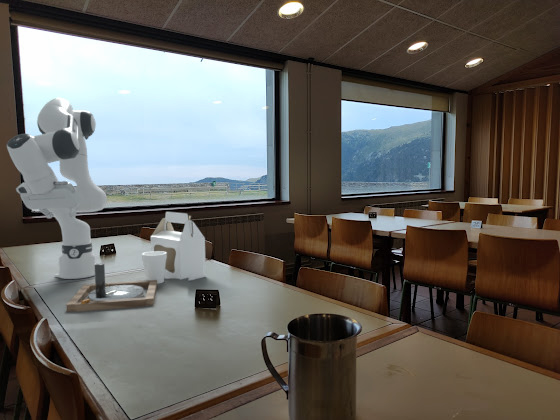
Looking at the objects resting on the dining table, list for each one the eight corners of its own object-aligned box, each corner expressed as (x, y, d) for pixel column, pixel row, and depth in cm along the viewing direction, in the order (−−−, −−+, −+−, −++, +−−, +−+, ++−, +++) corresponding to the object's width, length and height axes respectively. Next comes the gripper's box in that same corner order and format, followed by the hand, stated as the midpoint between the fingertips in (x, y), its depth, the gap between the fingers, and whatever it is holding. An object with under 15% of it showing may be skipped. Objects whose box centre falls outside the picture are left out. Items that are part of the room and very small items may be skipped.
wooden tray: (84, 293, 154) (84, 282, 153) (157, 288, 160) (156, 277, 159) (66, 316, 128) (65, 302, 128) (153, 309, 135) (153, 296, 134)
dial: (116, 288, 156) (114, 254, 155) (154, 293, 149) (153, 257, 148) (76, 301, 139) (74, 263, 138) (117, 307, 132) (115, 267, 131)
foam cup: (160, 288, 160) (159, 255, 159) (138, 287, 162) (137, 255, 161) (171, 282, 169) (170, 251, 168) (150, 281, 171) (149, 250, 170)
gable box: (206, 277, 179) (205, 212, 177) (180, 283, 169) (179, 215, 167) (176, 269, 193) (174, 210, 191) (151, 274, 183) (149, 212, 181)
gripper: (75, 175, 136) (92, 210, 144) (24, 180, 141) (43, 212, 148) (64, 186, 131) (82, 220, 138) (11, 189, 136) (32, 223, 143)
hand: (62, 216), depth 143 cm, fingers open, 8 cm apart
